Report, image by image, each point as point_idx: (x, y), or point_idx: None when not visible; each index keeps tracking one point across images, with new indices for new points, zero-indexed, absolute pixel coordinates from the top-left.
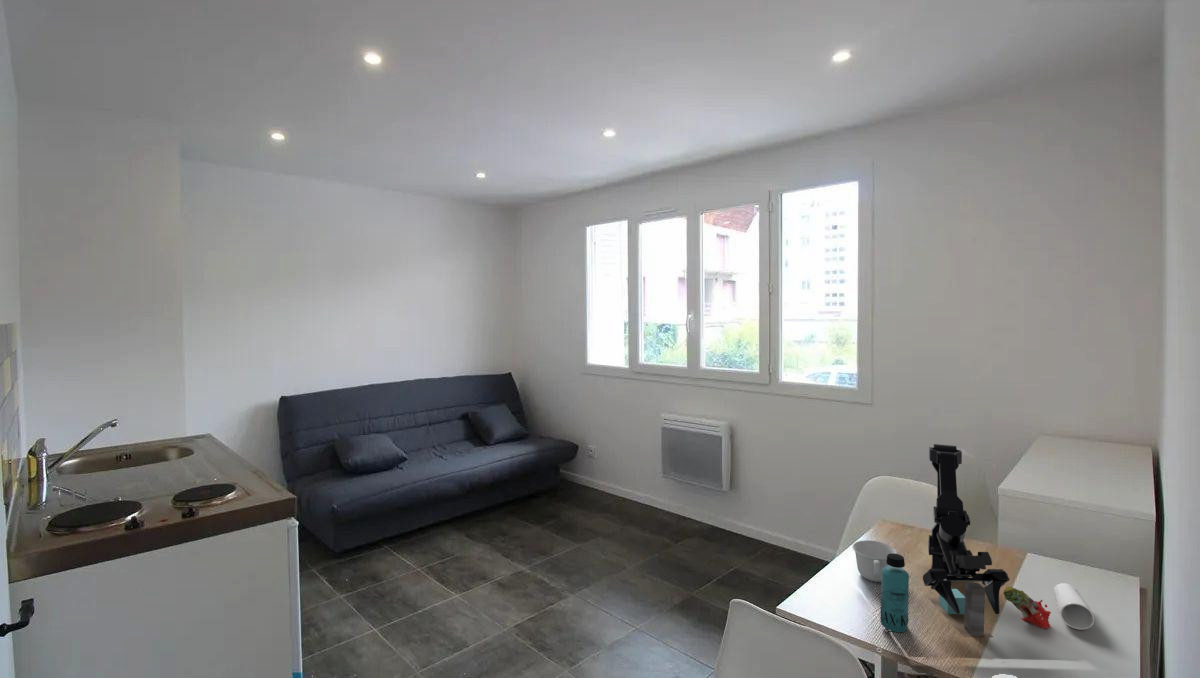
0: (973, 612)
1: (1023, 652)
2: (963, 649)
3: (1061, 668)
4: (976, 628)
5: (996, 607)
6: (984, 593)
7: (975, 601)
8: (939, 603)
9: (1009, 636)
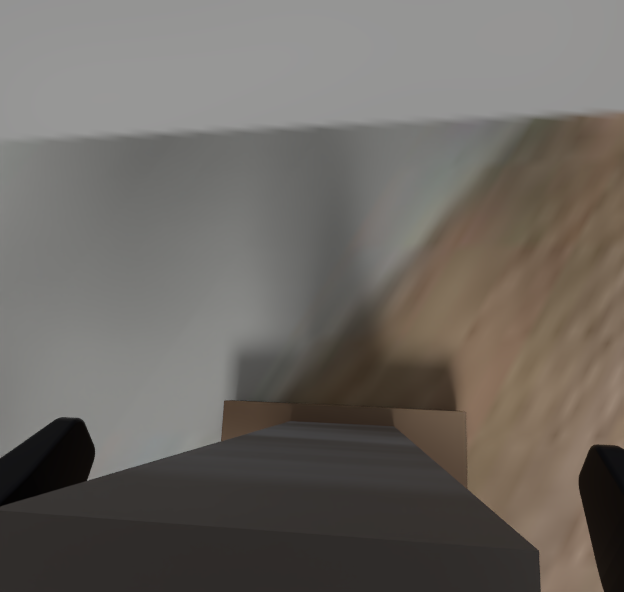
0: (389, 443)
1: (113, 284)
2: (509, 314)
3: (14, 140)
4: (348, 428)
5: (32, 461)
6: (102, 483)
7: (368, 461)
8: None
9: None
